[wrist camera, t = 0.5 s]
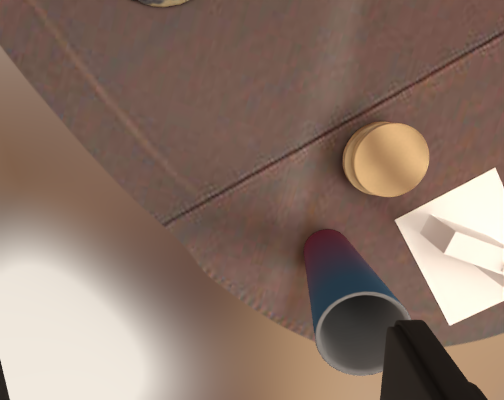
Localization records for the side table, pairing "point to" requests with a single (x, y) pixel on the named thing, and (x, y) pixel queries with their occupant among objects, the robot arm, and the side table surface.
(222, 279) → the side table surface
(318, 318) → the cup
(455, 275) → the napkin holder
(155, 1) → the decorative bowl
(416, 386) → the robot arm
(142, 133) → the side table surface
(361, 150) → the chip pile
